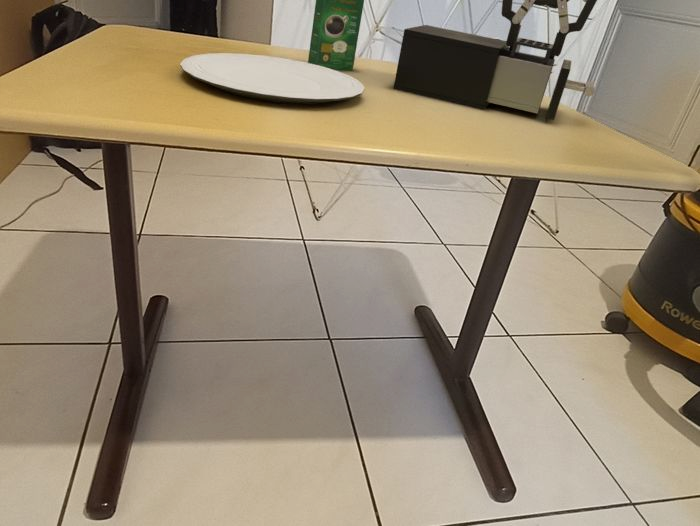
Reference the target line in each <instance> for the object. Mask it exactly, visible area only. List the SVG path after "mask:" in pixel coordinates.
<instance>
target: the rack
mask: <svg viewBox="0 0 700 526" xmlns="http://www.w3.org/2000/svg"><path fill="white" fill-rule="evenodd" d="M553 44H554V43H550V42H549V43H548V42H543V41H539V40H534V39H529V38H524V37H518V39H517V40H515V41H514V44H513V47H512V51H511V54H510V57H511V58H515V57H516V56H517V55H518V53H519V52H520V49H521V46H523V47H527V48H532V49H536V50H542V51H546V52H545V56H544V57H545V59H544V62H543V64H544V65H547V64H548V62H549V58H550V55H551V51H552V48H553Z"/></svg>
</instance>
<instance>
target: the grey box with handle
mask: <svg viewBox="0 0 700 526" xmlns="http://www.w3.org/2000/svg"><path fill="white" fill-rule="evenodd" d="M510 54H511V51H509V49H508V50H507V49H505V50H504V51H502V52H501V53H500V54H499V58H498V61H497V65H496V69H495V73H494V76H493V80H492V84H491V87H490V91H489V95H488V99H487V102H489V104H495V105H498V106H502V107H507V108H510V109H511V108H512V109H516V110H520V111H523V112H529V113H533V114H538V113H539V112H540V108H541V105H542V102H543V99H544V96H545V93H546V90H547V86H548V83H549V81H550V77H551V73H552V71H553V67H554V64H555V61H556V59H555V58H554V60H552V59H549V62H548V64H547V65H544V64H543V62H544V59H545V56H541V55H537V54H536V55H535V54H531V53H527V52H522V51H519V53H518V55H517V56H516V57H515V58H511V57H510ZM571 68H572V60H569V59H563V61H562V64H561V66H560V70H559V73H558V76H557V79H556V82H555V85H554V89H553V92H552V95H551V98H550V101H549V105H548V108H547V112H546V115H545V119H547V120H550V121H555V118H556V114H557V112H558V109H559V106H560V102H561V99H562V96H563V93H564V91H565V89H566V90H572V91H577V92H581V93H584V95H585V96H586V97H592V96H593V95H594V94H595V85H594V82H593V81H590V80H589V81H586V82H582V81H577V80H571V79H569V75H570V72H571Z"/></svg>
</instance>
